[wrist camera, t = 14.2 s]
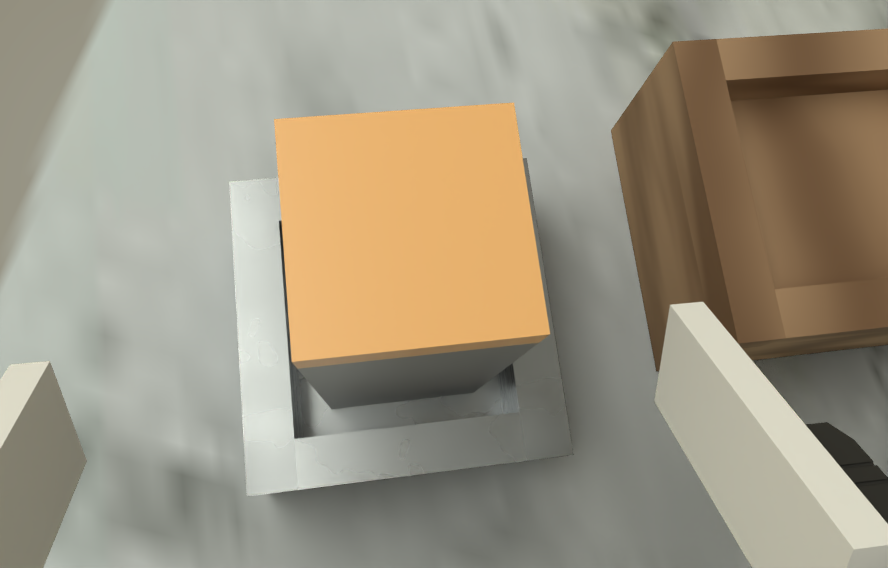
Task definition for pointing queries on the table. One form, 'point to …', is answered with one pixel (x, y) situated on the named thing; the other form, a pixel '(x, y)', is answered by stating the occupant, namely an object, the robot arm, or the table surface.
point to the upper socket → (763, 189)
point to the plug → (407, 251)
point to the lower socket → (380, 425)
